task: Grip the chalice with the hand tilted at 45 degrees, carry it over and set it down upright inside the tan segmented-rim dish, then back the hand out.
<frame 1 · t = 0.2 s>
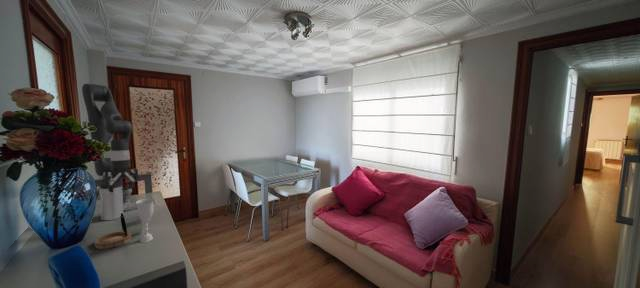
hand: (121, 190, 122), 18 cm above the sideboard, tool pointing down, fingers open, 8 cm apart
tan segmented-rim dish: (113, 241, 105), on the sideboard
chalice: (146, 239, 108), on the sideboard
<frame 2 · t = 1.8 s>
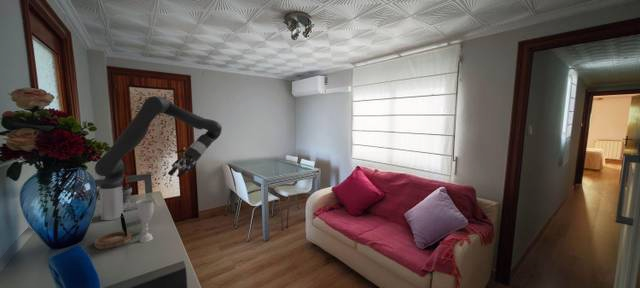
hand: (173, 175, 118), 27 cm above the sideboard, tool tilted 45°, fingers open, 8 cm apart
nothing on the sideboard moved.
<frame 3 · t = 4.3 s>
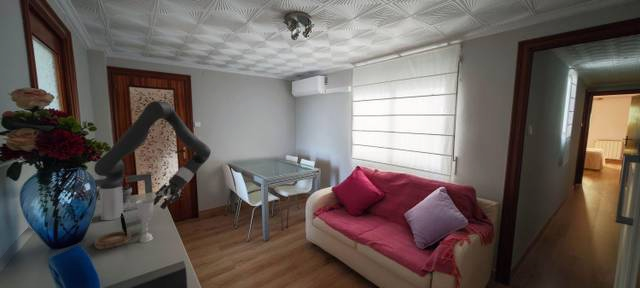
hand: (157, 206, 111), 14 cm above the sideboard, tool tilted 45°, fingers open, 8 cm apart
nothing on the sideboard moved.
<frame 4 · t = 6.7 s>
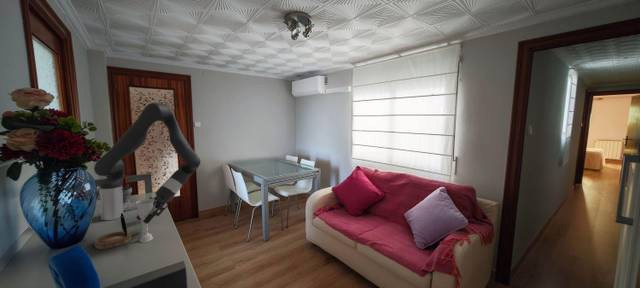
hand: (141, 220, 106), 9 cm above the sideboard, tool tilted 45°, fingers closed on chalice, 6 cm apart
chalice: (146, 239, 108), on the sideboard, touching gripper
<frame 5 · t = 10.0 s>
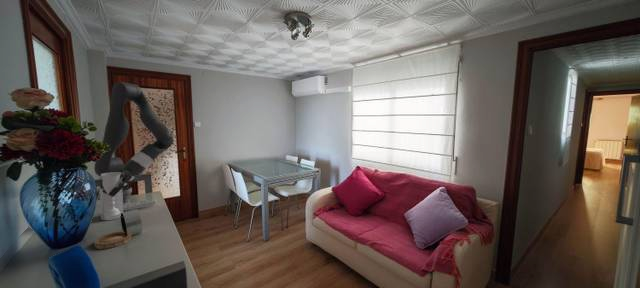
hand: (107, 194, 102), 22 cm above the sideboard, tool tilted 45°, fingers closed on chalice, 6 cm apart
chalice: (113, 214, 104), point 12 cm above the sideboard, touching gripper
when the fingers open (12 cm above the sideboard, at t = 13.4 s): chalice drops 2 cm, resting on tan segmented-rim dish.
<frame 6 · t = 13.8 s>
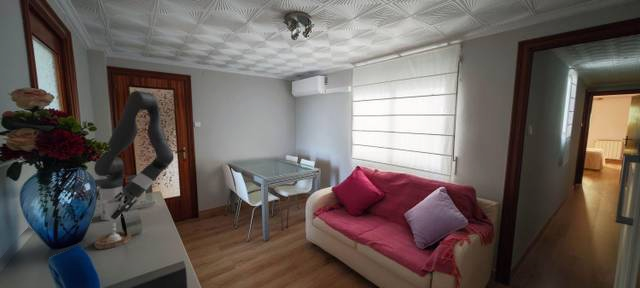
hand: (108, 216, 103), 12 cm above the sideboard, tool tilted 45°, fingers open, 8 cm apart
chalice: (114, 240, 105), resting on tan segmented-rim dish
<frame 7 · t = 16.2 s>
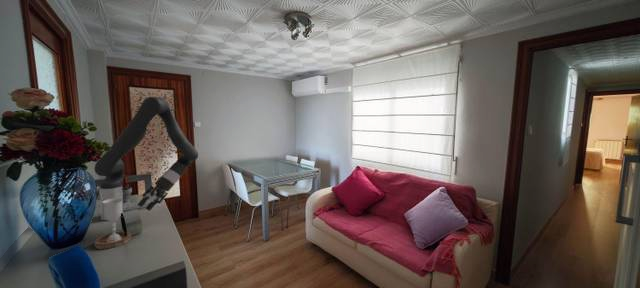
hand: (143, 207, 114), 12 cm above the sideboard, tool tilted 45°, fingers open, 8 cm apart
nothing on the sideboard moved.
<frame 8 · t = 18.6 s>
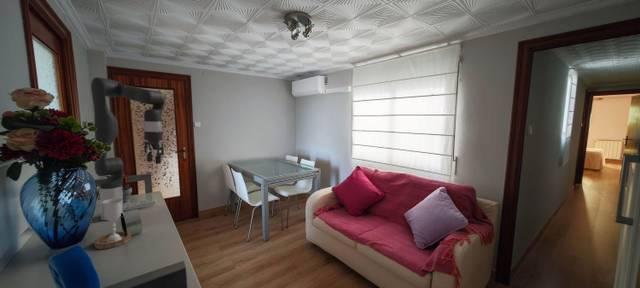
hand: (154, 162, 119), 33 cm above the sideboard, tool pointing down, fingers open, 8 cm apart
nothing on the sideboard moved.
at the end: chalice 0.2 cm off-centre on the tan segmented-rim dish, point 0.4 cm above the tan segmented-rim dish's base; chalice tilted 0°; the gripper is holding nothing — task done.
